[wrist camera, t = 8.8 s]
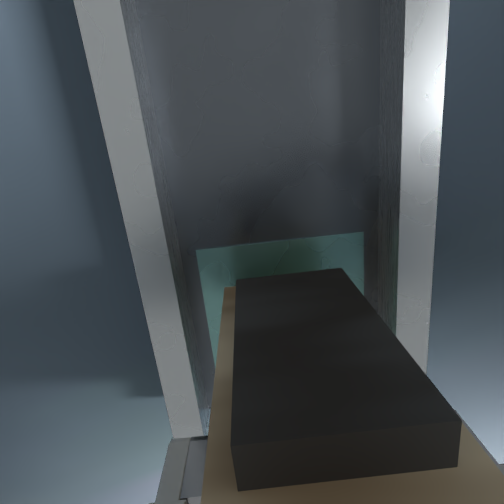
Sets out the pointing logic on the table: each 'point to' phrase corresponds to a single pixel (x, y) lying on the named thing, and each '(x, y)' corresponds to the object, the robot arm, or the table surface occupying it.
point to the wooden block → (330, 406)
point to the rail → (269, 158)
